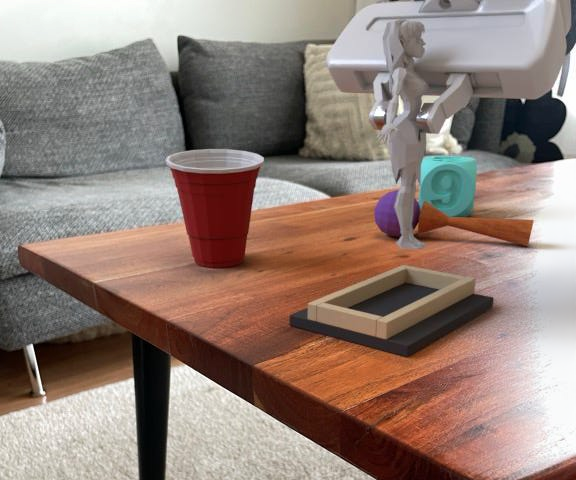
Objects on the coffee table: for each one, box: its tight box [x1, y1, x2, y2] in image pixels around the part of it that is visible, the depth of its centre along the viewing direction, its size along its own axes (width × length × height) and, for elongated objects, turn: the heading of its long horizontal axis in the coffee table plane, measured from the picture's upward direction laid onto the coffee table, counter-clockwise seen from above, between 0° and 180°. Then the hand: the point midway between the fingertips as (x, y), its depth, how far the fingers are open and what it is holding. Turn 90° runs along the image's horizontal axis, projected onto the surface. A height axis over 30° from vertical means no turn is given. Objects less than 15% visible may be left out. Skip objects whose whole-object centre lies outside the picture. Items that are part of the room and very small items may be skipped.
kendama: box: [373, 189, 535, 248], centre depth 93 cm, size 6×6×20 cm
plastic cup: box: [164, 148, 265, 268], centre depth 81 cm, size 11×11×12 cm
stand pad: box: [289, 264, 495, 358], centre depth 66 cm, size 12×16×2 cm
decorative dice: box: [417, 155, 478, 218], centre depth 108 cm, size 8×8×8 cm
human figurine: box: [375, 19, 429, 251], centre depth 60 cm, size 12×4×18 cm, turn 158°
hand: (402, 126), depth 59 cm, fingers closed on human figurine, 3 cm apart
